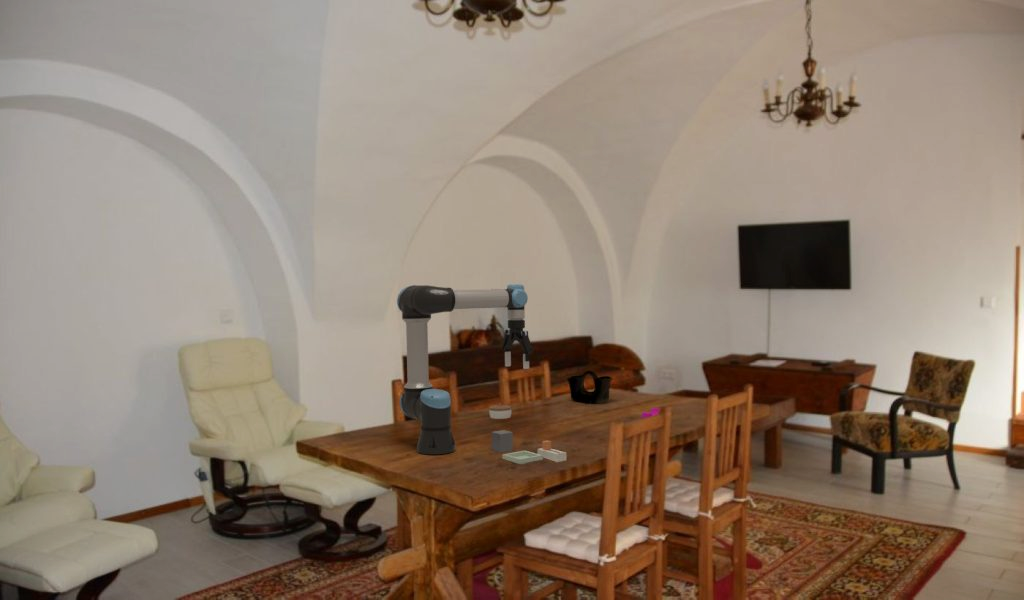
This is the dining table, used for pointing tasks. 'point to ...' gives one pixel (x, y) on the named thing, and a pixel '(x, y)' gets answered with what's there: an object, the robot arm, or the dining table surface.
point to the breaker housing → (552, 454)
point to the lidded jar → (500, 411)
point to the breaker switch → (546, 445)
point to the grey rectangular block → (502, 441)
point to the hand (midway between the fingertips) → (516, 367)
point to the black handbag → (586, 397)
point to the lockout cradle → (522, 457)
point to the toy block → (653, 412)
